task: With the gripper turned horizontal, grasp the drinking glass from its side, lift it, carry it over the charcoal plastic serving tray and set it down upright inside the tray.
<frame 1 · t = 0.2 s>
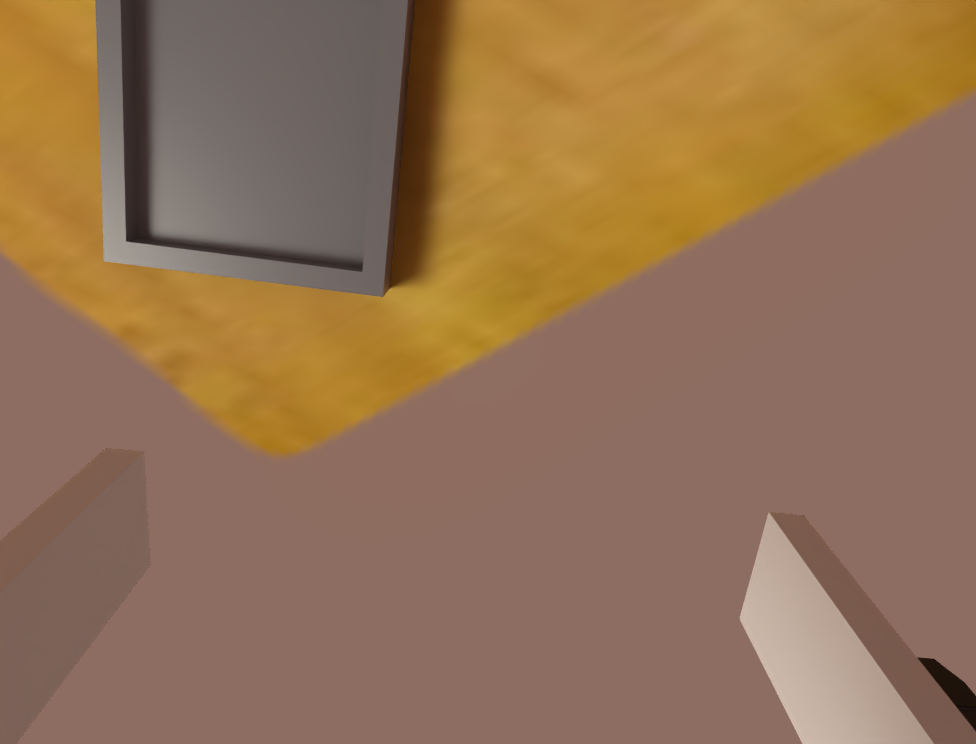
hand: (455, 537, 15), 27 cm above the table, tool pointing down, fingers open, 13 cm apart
serving tray: (264, 114, 38), on the table
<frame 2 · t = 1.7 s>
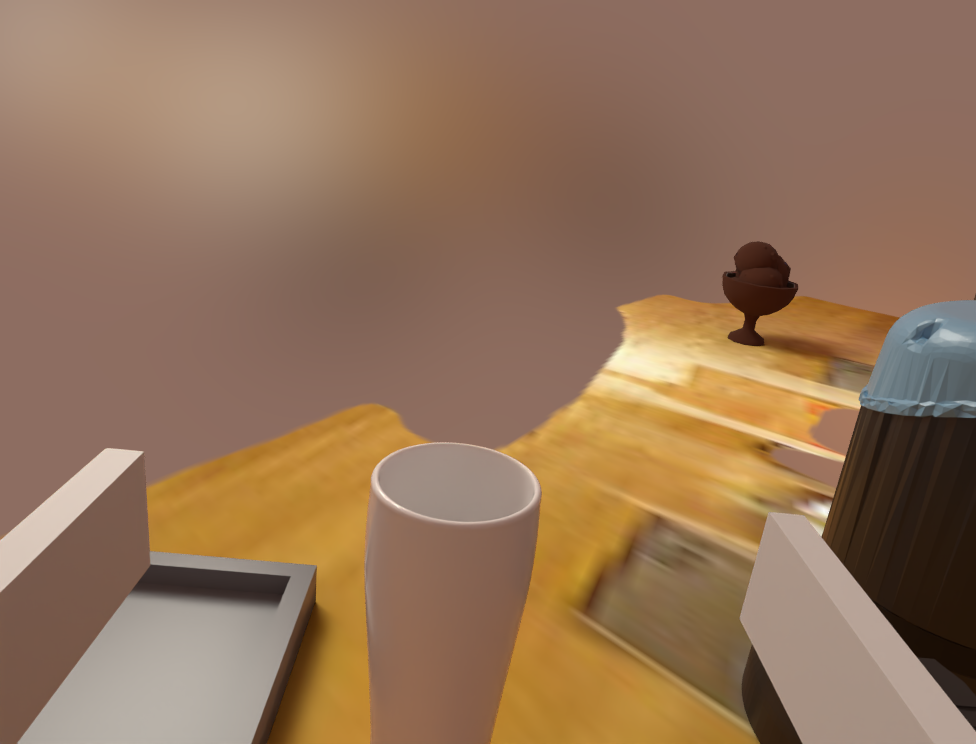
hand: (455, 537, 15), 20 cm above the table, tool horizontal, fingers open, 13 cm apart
ice cream bowl: (745, 341, 110), on the table
serving tray: (109, 683, 35), on the table
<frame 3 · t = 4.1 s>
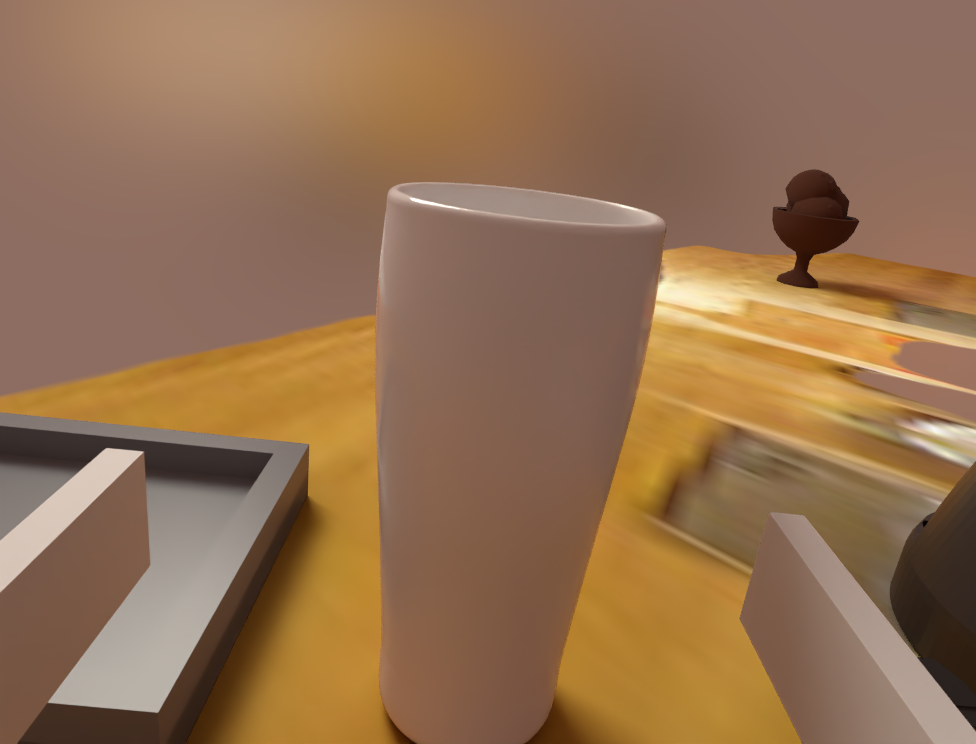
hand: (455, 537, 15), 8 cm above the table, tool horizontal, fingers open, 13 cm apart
ice cream bowl: (796, 284, 99), on the table
serving tray: (9, 577, 25), on the table
drinking glass: (464, 701, 22), on the table
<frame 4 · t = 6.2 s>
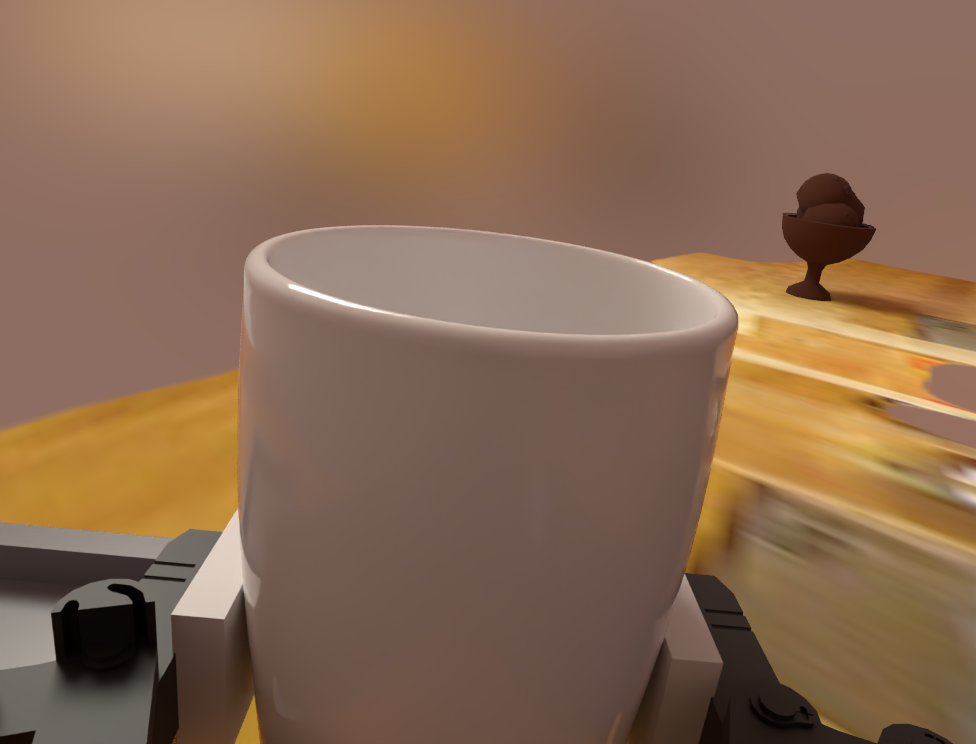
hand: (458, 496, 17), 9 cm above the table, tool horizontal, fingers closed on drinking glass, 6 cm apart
ice cream bowl: (807, 296, 92), on the table
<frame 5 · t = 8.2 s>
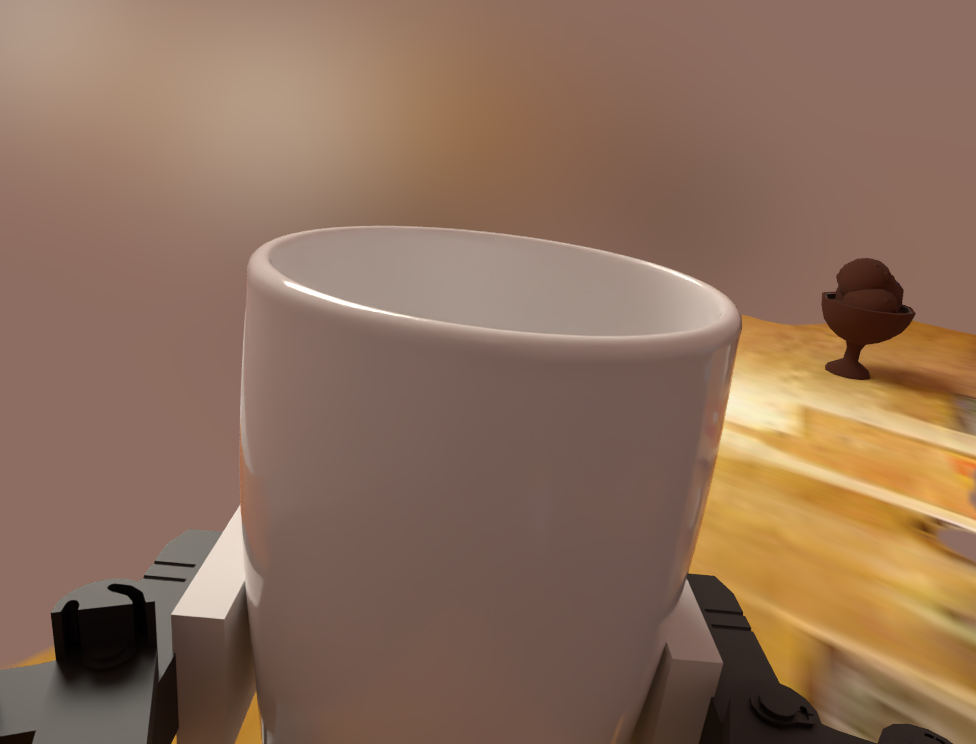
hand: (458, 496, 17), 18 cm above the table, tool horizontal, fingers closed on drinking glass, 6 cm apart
ice cream bowl: (846, 373, 94), on the table
when the fingers open (11 cm above the table, at t = 10.4 s): drinking glass drops 1 cm, resting on serving tray.
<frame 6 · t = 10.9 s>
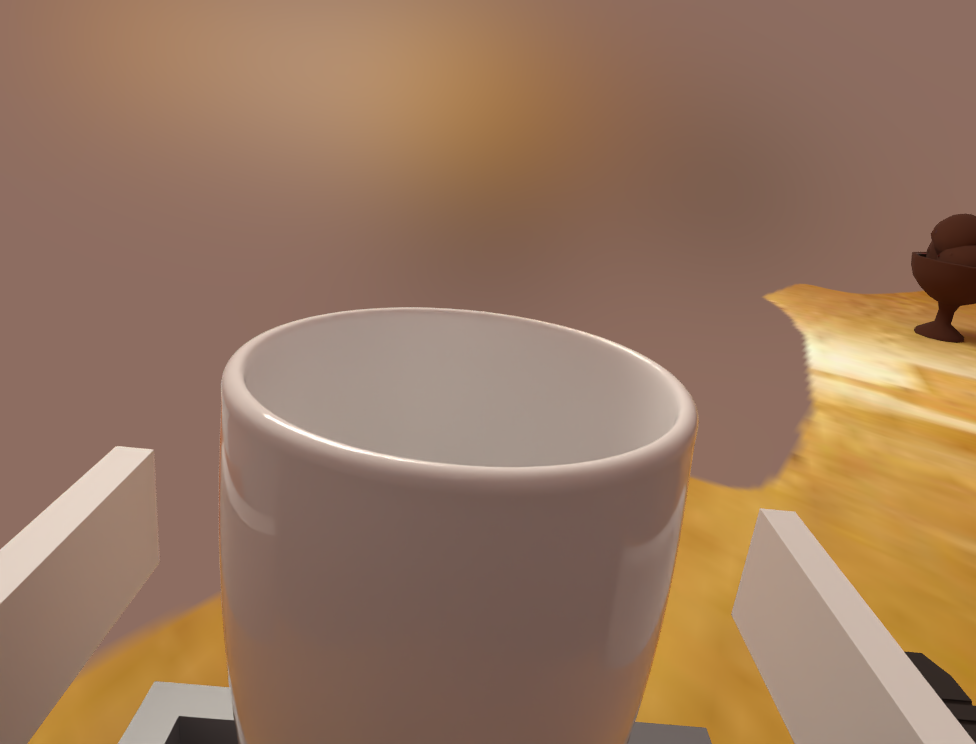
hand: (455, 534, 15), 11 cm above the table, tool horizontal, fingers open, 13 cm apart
ice cream bowl: (937, 337, 90), on the table
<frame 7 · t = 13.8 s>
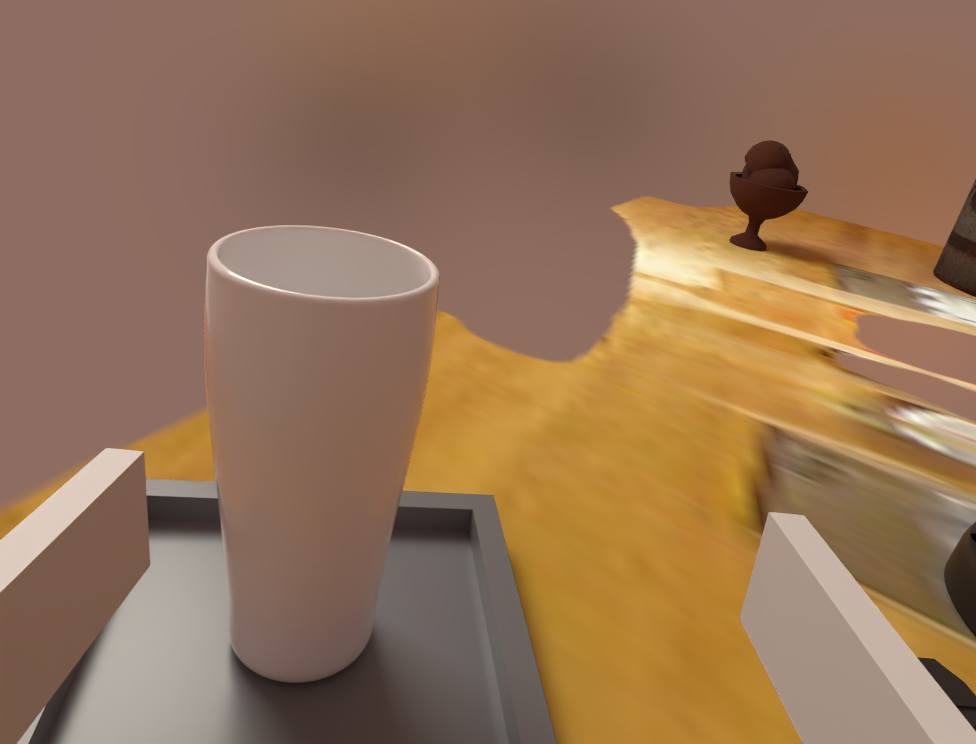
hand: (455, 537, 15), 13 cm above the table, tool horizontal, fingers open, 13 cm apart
ice cream bowl: (747, 246, 107), on the table
serving tray: (300, 653, 28), on the table
drinking glass: (301, 636, 27), point 1 cm above the table, touching serving tray
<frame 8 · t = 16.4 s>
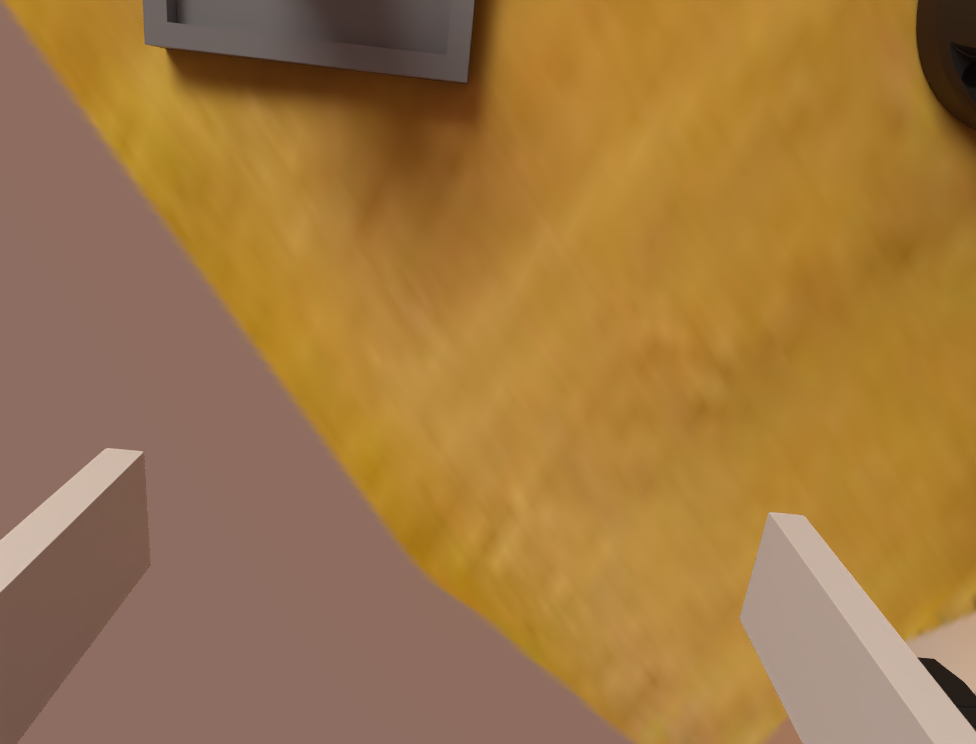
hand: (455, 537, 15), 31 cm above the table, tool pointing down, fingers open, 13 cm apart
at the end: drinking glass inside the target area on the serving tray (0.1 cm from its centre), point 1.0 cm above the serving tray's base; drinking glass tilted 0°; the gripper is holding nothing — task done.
